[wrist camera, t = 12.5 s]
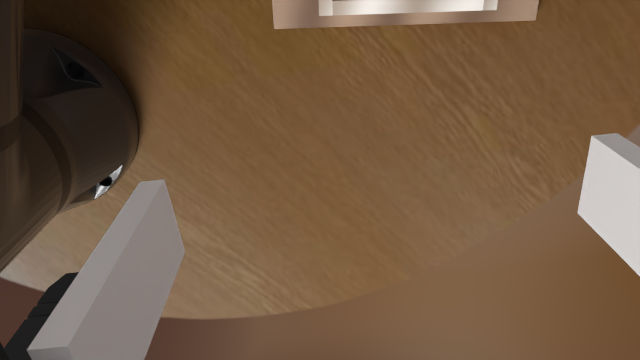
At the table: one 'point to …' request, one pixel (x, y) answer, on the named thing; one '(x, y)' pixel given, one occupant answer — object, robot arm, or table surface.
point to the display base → (397, 12)
